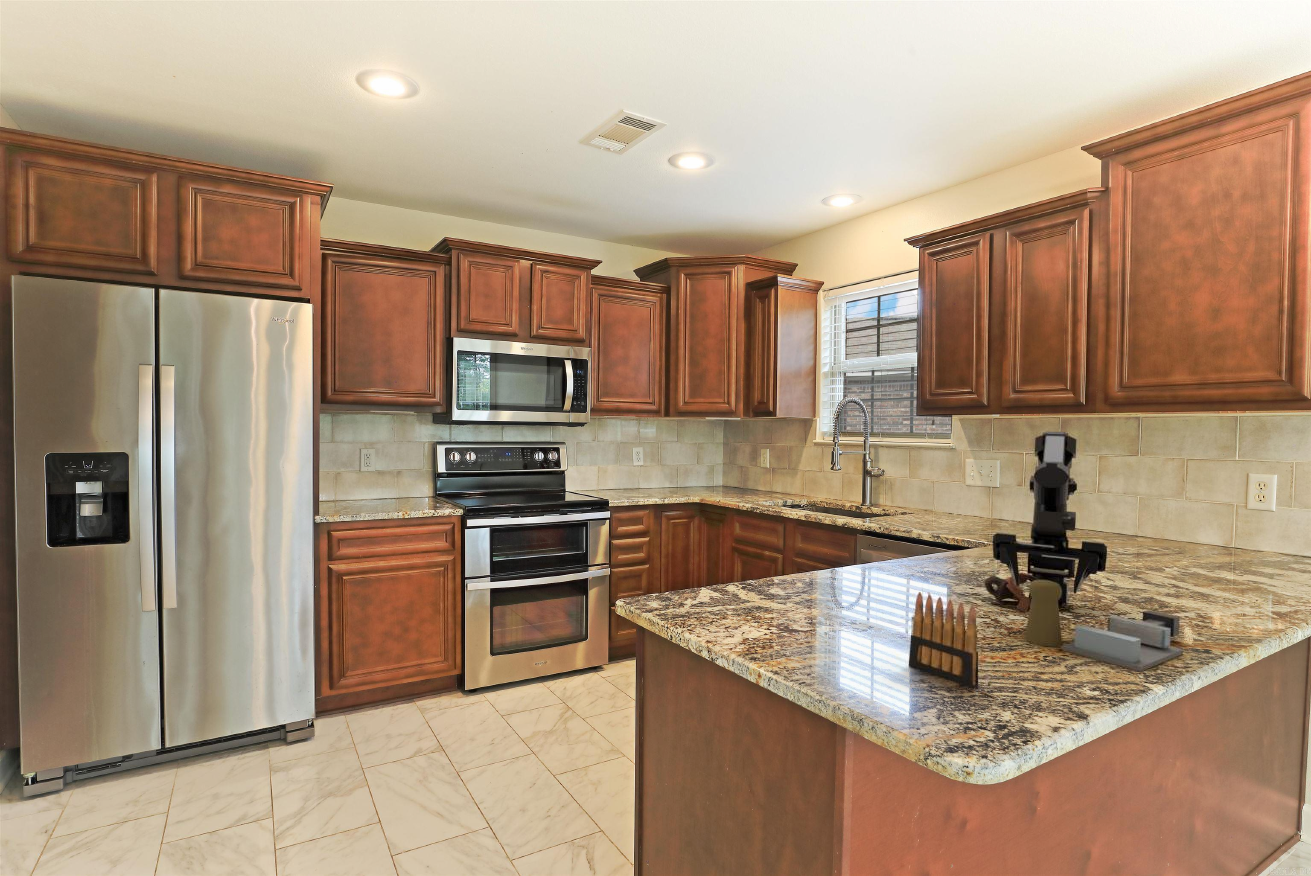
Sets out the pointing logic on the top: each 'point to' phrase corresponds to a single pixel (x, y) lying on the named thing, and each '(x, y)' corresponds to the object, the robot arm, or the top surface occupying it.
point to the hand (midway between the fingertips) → (1045, 588)
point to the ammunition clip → (945, 642)
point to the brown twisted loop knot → (1010, 589)
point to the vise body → (1118, 649)
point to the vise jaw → (1147, 628)
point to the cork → (1044, 614)
